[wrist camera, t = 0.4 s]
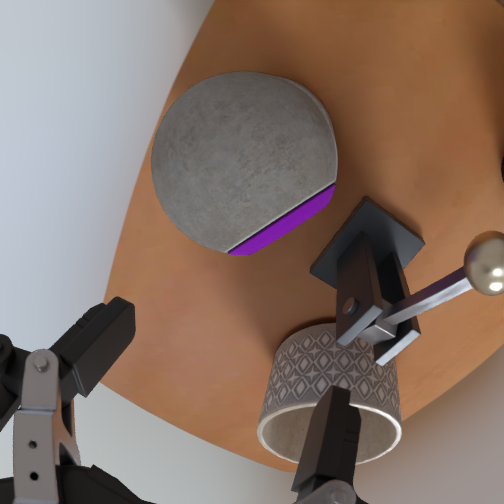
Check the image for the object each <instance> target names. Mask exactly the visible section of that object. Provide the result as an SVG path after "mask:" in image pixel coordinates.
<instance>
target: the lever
mask: <svg viewBox="0 0 504 504" xmlns="http://www.w3.org/2000/svg"><path fill="white" fill-rule="evenodd" d="M471 288H474V289H475V290H476V291H478V292H479V293H481V294H484V295H489V296H493V295H499V294H501V293H503V292H504V234H503V233H501V232H497V231H486V232H483V233H481V234H479V235H477V236H476V237H475V238H474V239H473V240H472V241H471V242H470V244H469V245H468V247H467V249H466V252H465V256H464V266H463V267H461V268H459V269H458V270H456V271H454V272H452V273H451V274H449V275H447V276H445V277H444V278H442V279H440V280H438V281H437V282H435V283H433V284H431V285H429V286H428V287H426V288H424V289H422V290H420V291H418V292H416V293H415V294H413V295H411V296H409V297H407V298H405V299H403V300H401V301H399V302H397V303H395V304H393V305H391V304H390V303H388V302H387V301H385V300H384V299H382V303H383V309H384V310H383V312H382V313H381V314H380V315H379V316H378V317H377V318H376V319H374V320H373V321H372V322H371V323H370V324H369V325H368V326H367V327H366V328H365V329H364V330H363V331H362V332H361V333H360V334H359V335H357V337H359V338H361V339H362V340H364V341H366V342H368V343H370V344H371V345H375V344H378V343H381V342H383V341H386V340H389V339H391V338H394V337H396V332H397V327H398V323H400V322H402V321H405V320H407V319H409V318H412V317H414V316H416V315H418V314H420V313H423V312H425V311H427V310H429V309H431V308H433V307H435V306H437V305H439V304H442V303H444V302H446V301H448V300H450V299H452V298H454V297H456V296H458V295H460V294H462V293H464V292H466V291H467V290H469V289H471Z"/></svg>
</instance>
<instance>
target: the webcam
mask: <svg viewBox="0 0 504 504" xmlns="http://www.w3.org/2000/svg"><path fill="white" fill-rule="evenodd" d="M337 167H338V154H337V147H336V142H335V133H334V128H333V124H332V121H331V119H330V116H329V114H328V112H327V110H326V109H325V107H324V106H323V104H322V103H321V102H320V100H319V99H318V98H317V97H316V96H315V95H314V94H313V93H312V92H311V91H309V90H308V89H307V88H305V87H304V86H302V85H300V84H299V83H297V82H295V81H292V80H290V79H287V78H283V77H279V76H273V75H269V74H265V73H260V72H251V71H237V72H230V73H224V74H220V75H216V76H213V77H210V78H207V79H205V80H203V81H201V82H199V83H197V84H196V85H194V86H192V87H191V88H189V89H188V90H187V91H186V92H184V93H183V94H182V95H181V96H180V97H179V98H178V99H177V100H176V101H175V102H174V103H173V104H172V106H171V107H170V108H169V110H168V111H167V112H166V114H165V116H164V117H163V119H162V121H161V123H160V126H159V128H158V130H157V132H156V135H155V139H154V144H153V148H152V155H151V171H152V179H153V183H154V187H155V190H156V194H157V197H158V199H159V201H160V203H161V205H162V207H163V209H164V211H165V212H166V214H167V215H168V217H169V218H170V220H171V221H172V222H173V223H174V224H175V225H176V227H177V228H178V229H179V230H181V231H182V232H183V233H184V234H185V235H186V236H188V237H189V238H191V239H192V240H194V241H195V242H197V243H199V244H201V245H203V246H205V247H207V248H210V249H213V250H216V251H220V252H223V253H226V252H228V254H230V255H251V254H253V253H255V252H257V251H258V250H260V249H262V248H264V247H265V246H267V245H269V244H270V243H272V242H273V241H275V240H277V239H278V238H280V237H281V236H283V235H284V234H286V233H288V232H289V231H291V230H292V229H294V228H295V227H297V226H298V225H300V224H301V223H303V222H304V221H306V220H307V219H309V218H310V217H312V216H313V215H315V214H316V213H317V212H319V211H320V210H322V209H323V208H324V207H326V206H327V205H328V203H329V201H330V199H331V197H332V195H333V192H334V189H335V187H336V184H335V183H334V182H336V177H337Z"/></svg>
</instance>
